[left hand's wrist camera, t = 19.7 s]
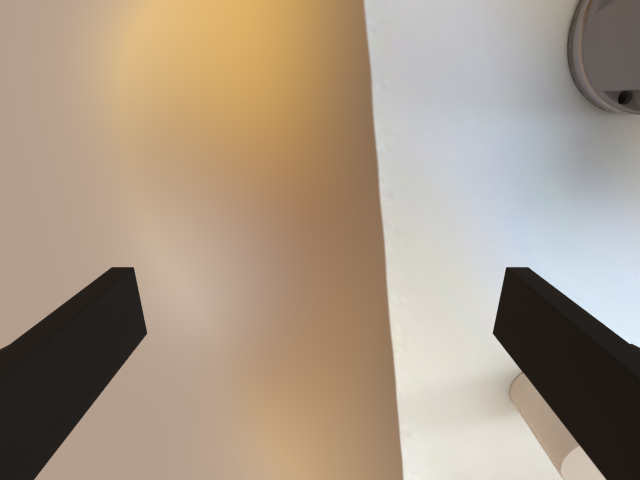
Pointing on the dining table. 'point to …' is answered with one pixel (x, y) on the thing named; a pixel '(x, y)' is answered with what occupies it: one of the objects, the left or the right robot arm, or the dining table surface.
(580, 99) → the dining table surface
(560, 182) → the dining table surface
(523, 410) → the canister
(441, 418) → the dining table surface
